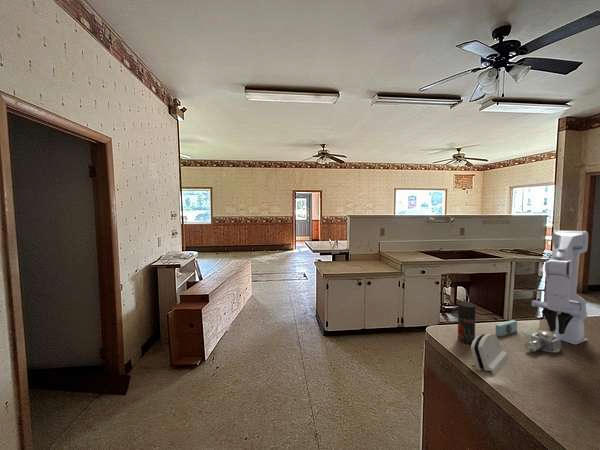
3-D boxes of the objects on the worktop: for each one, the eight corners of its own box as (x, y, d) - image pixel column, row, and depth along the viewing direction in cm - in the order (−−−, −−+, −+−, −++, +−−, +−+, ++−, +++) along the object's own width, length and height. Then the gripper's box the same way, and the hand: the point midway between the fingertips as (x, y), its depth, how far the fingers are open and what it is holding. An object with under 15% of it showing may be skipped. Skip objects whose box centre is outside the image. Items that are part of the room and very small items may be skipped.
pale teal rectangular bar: (512, 329, 119) (512, 319, 119) (517, 331, 117) (517, 321, 117) (495, 335, 114) (495, 324, 114) (500, 336, 113) (500, 326, 113)
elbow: (539, 340, 108) (539, 331, 108) (562, 348, 102) (562, 338, 102) (519, 347, 103) (519, 337, 103) (541, 356, 96) (541, 345, 96)
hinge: (494, 376, 86) (482, 343, 88) (478, 374, 90) (467, 343, 92) (509, 357, 97) (498, 328, 99) (494, 357, 100) (484, 329, 102)
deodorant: (476, 345, 106) (477, 307, 105) (459, 343, 108) (459, 306, 107) (472, 338, 111) (472, 302, 111) (456, 336, 113) (456, 301, 113)
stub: (538, 340, 109) (538, 327, 109) (564, 349, 101) (564, 335, 101) (526, 344, 106) (527, 331, 105) (552, 354, 98) (552, 339, 98)
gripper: (527, 290, 100) (526, 326, 100) (579, 301, 87) (578, 343, 87) (537, 287, 103) (537, 323, 103) (590, 298, 89) (589, 339, 90)
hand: (557, 332), depth 95 cm, fingers closed
